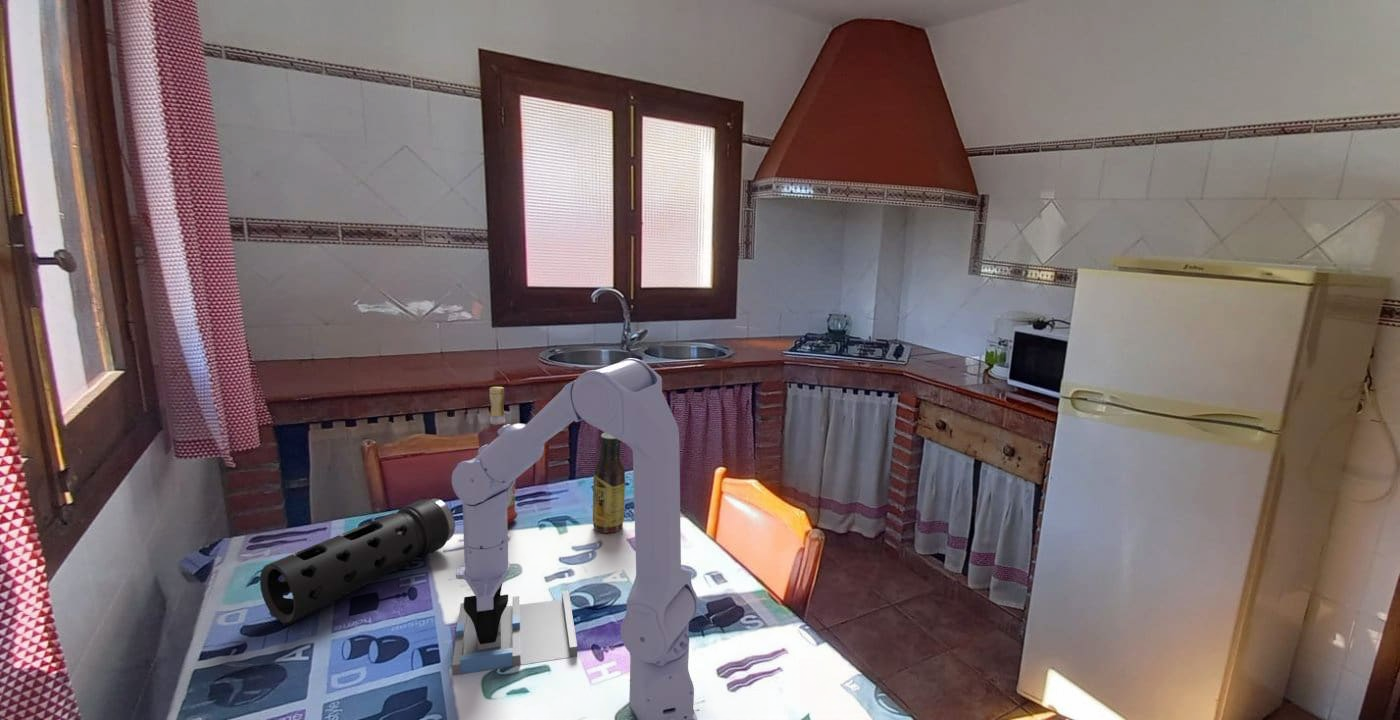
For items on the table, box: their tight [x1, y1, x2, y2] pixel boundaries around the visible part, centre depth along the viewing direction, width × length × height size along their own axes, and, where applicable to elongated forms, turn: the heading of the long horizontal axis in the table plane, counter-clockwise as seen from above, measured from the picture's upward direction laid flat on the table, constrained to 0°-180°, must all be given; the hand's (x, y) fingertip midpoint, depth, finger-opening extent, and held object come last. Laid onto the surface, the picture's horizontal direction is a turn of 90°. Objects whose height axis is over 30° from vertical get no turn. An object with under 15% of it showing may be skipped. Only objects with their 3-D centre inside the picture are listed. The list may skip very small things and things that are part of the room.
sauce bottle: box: [592, 432, 626, 534], centre depth 121 cm, size 7×6×20 cm
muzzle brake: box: [259, 498, 456, 626], centre depth 100 cm, size 10×28×10 cm, turn 152°
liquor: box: [477, 386, 518, 525], centre depth 121 cm, size 7×7×28 cm
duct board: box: [451, 589, 578, 677], centre depth 88 cm, size 14×16×3 cm
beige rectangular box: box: [478, 619, 501, 650], centre depth 87 cm, size 5×3×4 cm, turn 18°
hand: (488, 627), depth 87 cm, fingers open, 6 cm apart
